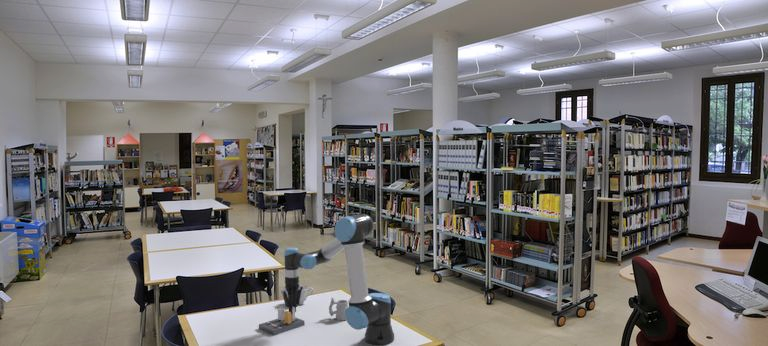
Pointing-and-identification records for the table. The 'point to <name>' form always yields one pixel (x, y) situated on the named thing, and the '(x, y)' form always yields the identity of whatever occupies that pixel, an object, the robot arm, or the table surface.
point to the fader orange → (287, 317)
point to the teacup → (304, 293)
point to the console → (280, 326)
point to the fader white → (281, 314)
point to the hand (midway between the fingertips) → (292, 318)
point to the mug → (339, 309)
